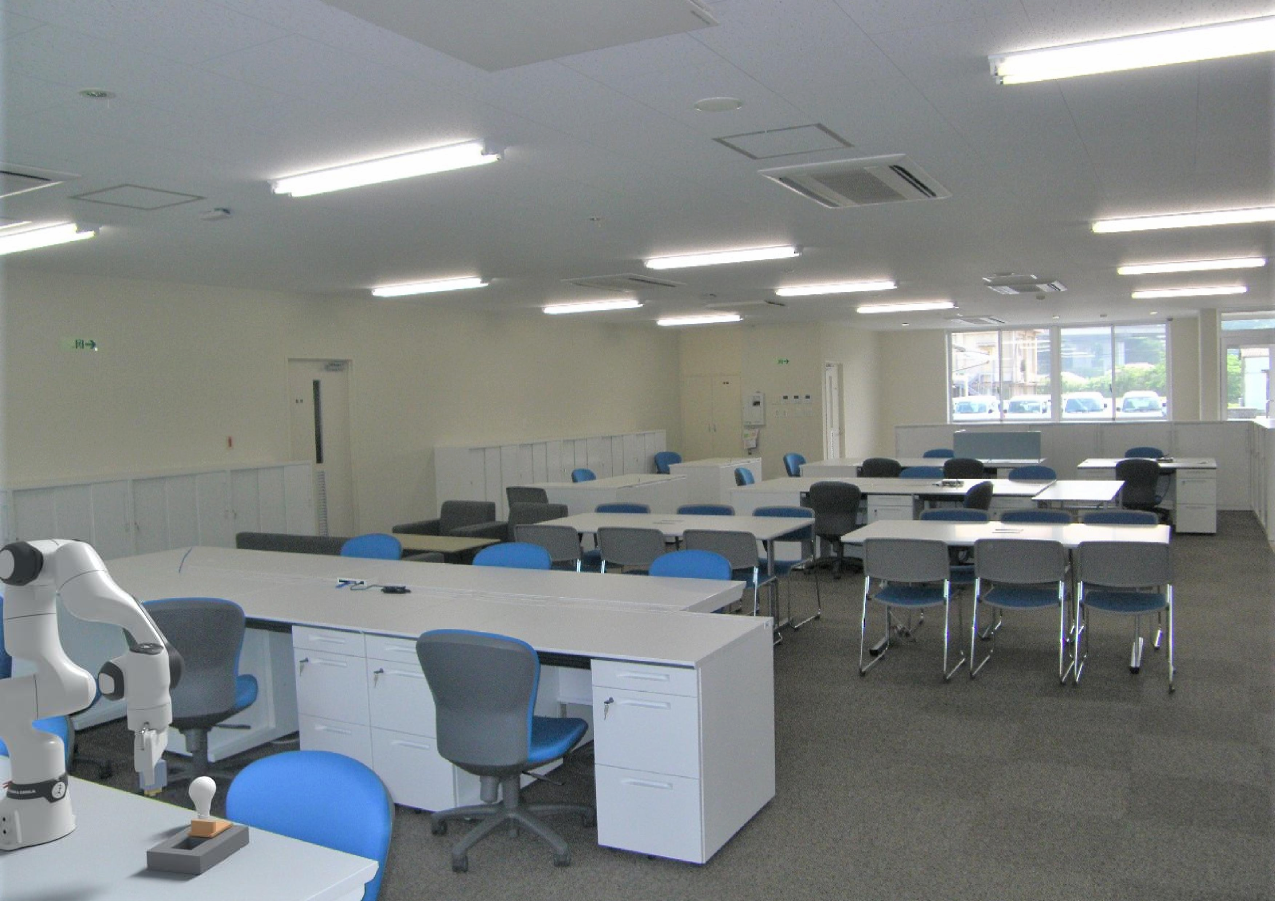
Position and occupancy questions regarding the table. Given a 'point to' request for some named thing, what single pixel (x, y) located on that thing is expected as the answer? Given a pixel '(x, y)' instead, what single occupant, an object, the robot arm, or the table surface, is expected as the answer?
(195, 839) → the socket block
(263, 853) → the table surface
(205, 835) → the panel
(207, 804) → the lightbulb
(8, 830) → the robot arm
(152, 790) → the plug
